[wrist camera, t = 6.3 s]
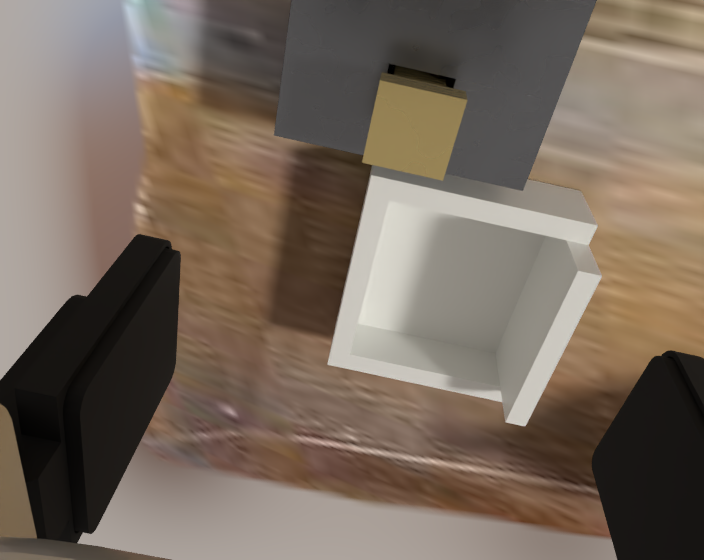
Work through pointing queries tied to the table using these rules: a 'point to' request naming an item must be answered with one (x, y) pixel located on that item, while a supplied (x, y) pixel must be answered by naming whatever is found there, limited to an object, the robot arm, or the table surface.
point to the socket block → (433, 72)
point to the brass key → (414, 123)
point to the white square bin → (466, 285)
